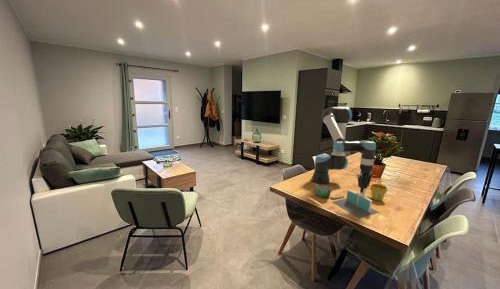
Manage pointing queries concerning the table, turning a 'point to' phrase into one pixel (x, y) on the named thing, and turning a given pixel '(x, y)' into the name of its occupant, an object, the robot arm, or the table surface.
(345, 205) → the mat
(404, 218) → the table surface
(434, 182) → the table surface
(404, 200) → the table surface
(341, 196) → the turner
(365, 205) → the tile
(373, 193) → the plant pot
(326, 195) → the food container
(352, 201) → the tile
